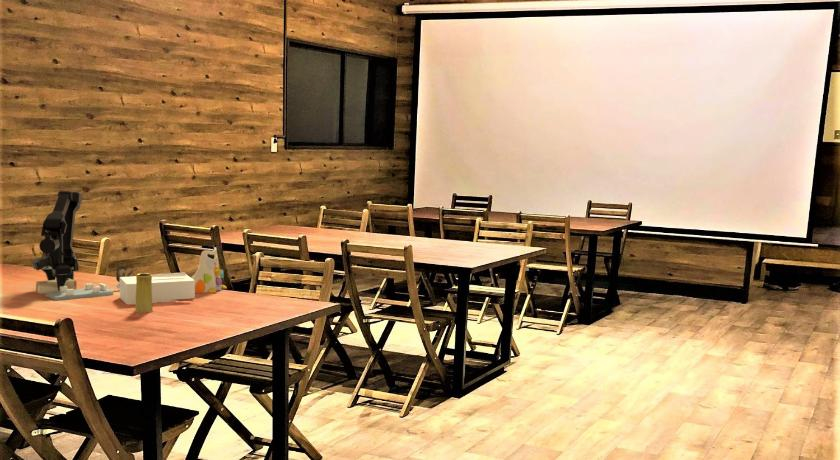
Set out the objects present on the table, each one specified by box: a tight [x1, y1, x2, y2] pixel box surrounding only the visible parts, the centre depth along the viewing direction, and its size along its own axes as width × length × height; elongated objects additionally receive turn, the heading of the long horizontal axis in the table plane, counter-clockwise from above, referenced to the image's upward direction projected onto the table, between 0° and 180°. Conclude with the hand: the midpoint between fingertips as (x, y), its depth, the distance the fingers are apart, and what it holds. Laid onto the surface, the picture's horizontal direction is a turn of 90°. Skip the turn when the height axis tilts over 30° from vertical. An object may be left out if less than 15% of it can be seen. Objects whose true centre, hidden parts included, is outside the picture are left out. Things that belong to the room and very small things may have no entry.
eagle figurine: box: [115, 266, 135, 289], centre depth 351 cm, size 8×7×9 cm
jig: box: [45, 282, 114, 301], centre depth 336 cm, size 10×22×4 cm, turn 132°
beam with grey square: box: [35, 278, 78, 295], centre depth 342 cm, size 4×14×5 cm, turn 132°
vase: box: [134, 272, 153, 314], centre depth 310 cm, size 6×6×14 cm
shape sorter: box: [190, 246, 228, 294], centre depth 353 cm, size 20×10×18 cm, turn 168°
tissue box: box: [119, 272, 196, 305], centre depth 334 cm, size 14×25×11 cm, turn 119°
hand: (55, 288), depth 342 cm, fingers open, 9 cm apart
